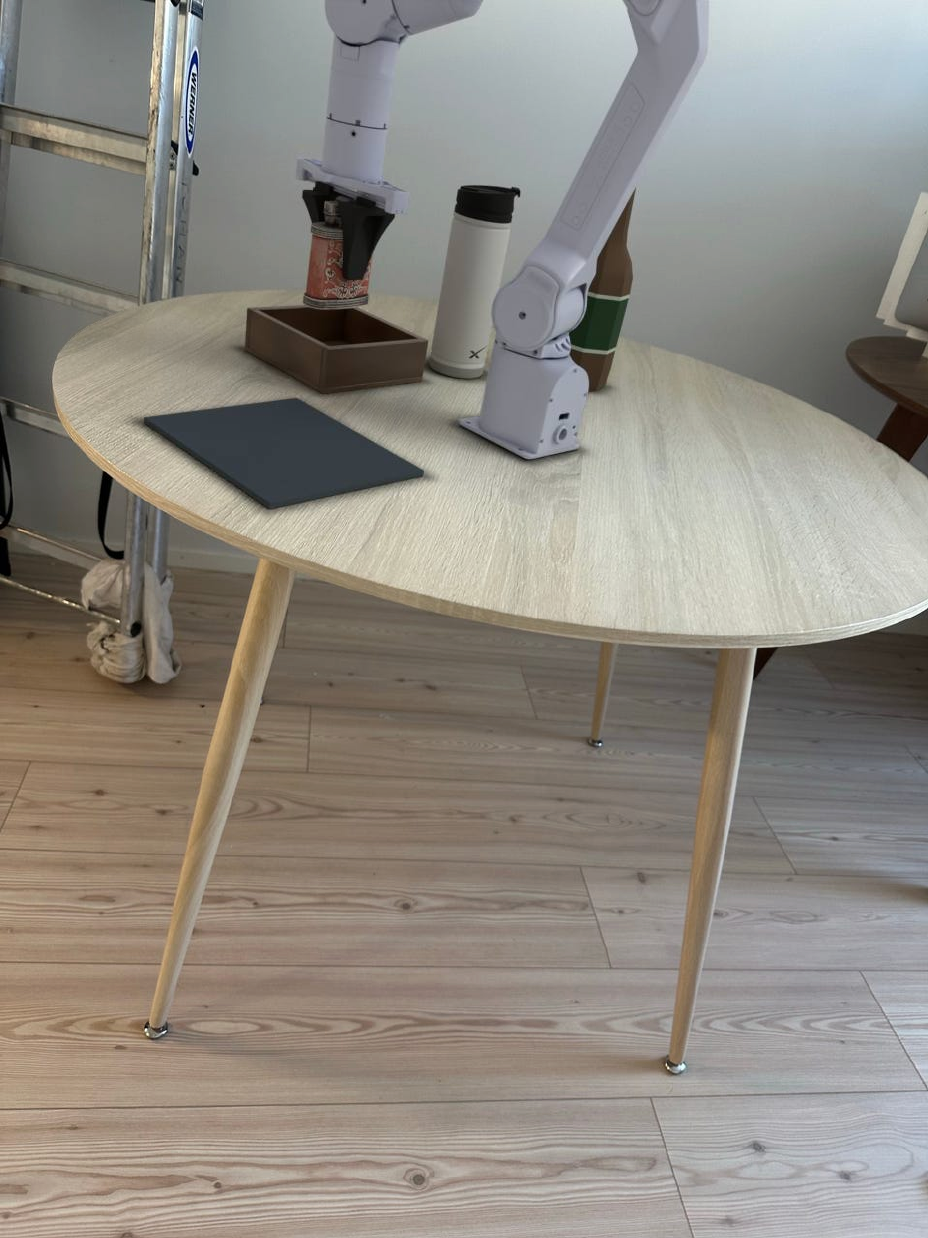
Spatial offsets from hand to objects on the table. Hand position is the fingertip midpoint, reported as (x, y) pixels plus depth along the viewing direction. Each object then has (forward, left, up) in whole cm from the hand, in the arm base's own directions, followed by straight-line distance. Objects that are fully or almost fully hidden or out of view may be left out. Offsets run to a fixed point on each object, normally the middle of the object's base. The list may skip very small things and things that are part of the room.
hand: (340, 273), depth 98 cm
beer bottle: (-10, -29, -10) cm, 33 cm away
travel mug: (-3, -16, -10) cm, 20 cm away
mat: (-15, +17, -10) cm, 24 cm away
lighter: (0, 0, -3) cm, 3 cm away
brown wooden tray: (+2, -2, -10) cm, 11 cm away
